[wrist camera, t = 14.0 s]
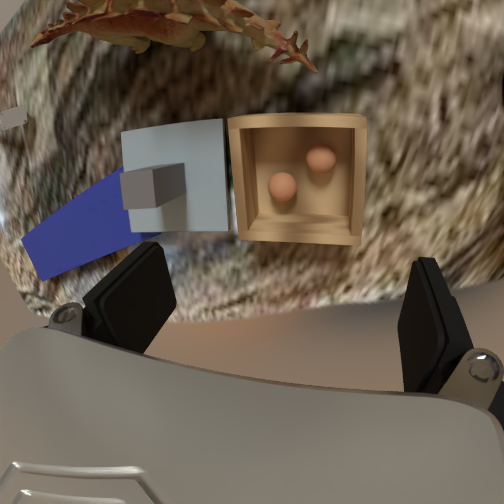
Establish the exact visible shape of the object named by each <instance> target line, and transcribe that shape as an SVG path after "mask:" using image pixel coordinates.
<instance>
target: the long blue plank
mask: <svg viewBox="0 0 504 504" xmlns="http://www.w3.org/2000/svg"><path fill="white" fill-rule="evenodd" d="M123 172H124V166H123V167H122V168H120V169H118V170H117V171H115V172H113V173H112V174H110V175H109V176H107V177H105V178H104V179H102V180H101V181H99V182H98V183H96V184H95V185H93V186H92V187H90V188H89V189H87V190H86V191H84V192H83V193H81V194H80V195H78V196H77V197H76V198H74V199H73V200H71V201H70V202H68V203H67V204H66V205H64V206H63V207H62V208H60V209H59V210H57V211H56V212H55V213H53V214H52V215H51V216H49V217H48V218H47V219H45V220H44V221H43V222H42V223H40V224H39V225H38V226H37V227H35V228H34V229H33V230H32V231H30V232H29V233H28V234H27V235H25V236H24V237H23V238H22V239H21V240H22V243H23V245H24V247H25V249H26V251H27V253H28V255H29V257H30V259H31V261H32V263H33V265H34V267H35V269H36V271H37V273H38V275H39V276H40V278H41V280H42V282H43V281H45V280H47V279H50V278H52V277H54V276H57V275H59V274H61V273H64V272H66V271H68V270H71V269H73V268H76V267H78V266H80V265H83V264H85V263H88V262H90V261H93V260H95V259H98V258H100V257H102V256H105V255H108V254H110V253H113V252H115V251H118V250H120V249H123V248H125V247H128V246H130V245H133V244H136V243H138V242H141V241H144V240H146V239H149V238H151V237H154V236H157V235H159V234H161V233H162V232H131V226H130V219H129V212H128V210H124V208H123V200H122V191H121V182H120V173H123Z"/></svg>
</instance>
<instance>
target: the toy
mask: <svg viewBox="0 0 504 504" xmlns="http://www.w3.org/2000/svg"><path fill="white" fill-rule="evenodd" d="M78 1H80V2H81V3H83V4H84V5H80V4H73V3H71V2H67V3H66V4H67V8H68V9H70V10H71V11H73V12H76V14H71V13H66V12H64V13H63V17H64V18H65V20H62V19H61V20H57V24H56V25H52V24H48V25H49V29H47V30H44V31H42V32H40V33H38V35H37V37H36V38H35V39H34V41H33V42H32V43H31V46H30V47H32V48H34V47H37V46H39V45H42V44H47V43H49V42H50V41H51V40H53V39H54V38H56V37H58V36H60V35H64V34H66V33H69V32H71V31H81V32H86V33H88V34H90V35H91V36H93V37H94V38H97V39H100V40H103V41H107V42H111V43H114V44H118V45H124V46H132V50H136V51H135V53H136V54H140V53H143V52H145V51H146V50H147V49H148V47H149V46H150V39H151V40H153V41H157V42H162V43H164V44H167V45H174V46H177V47H186V48H190V51H192V52H193V51H197V50H199V49H201V48H202V47H203V45H204V43H205V38H206V37H205V35H204V34H203V33H201V32H199V31H229V32H234V33H238V34H242V35H245V36H248V37H251V38H252V45H253V48H254V50H255V51H259V50H260V49H261V48H263V47H264V46H269V47H271V48H274V49H276V52H275V54H274V55H273V56H272V57H271V58H270V59H269V61H273V60H274V59H276V58H277V57H278V56H280V55H281V54H287V55H288V56H290V57H289V58H287V59H284V60H282V61H280V64H287V63H293V62H295V61H297V62H300V63H302V64H303V65H304V66H306V67H307V68H308V69H309V70H310V71H312V72H315V73H317V72H318V71H317V69H316V68H315V66H314V65H313V63H312V62H311V61H310V60H309V59H308V58H307V54H306V52H307V49H308V40H305V41H304V43H303V45H302V46H301V48H300V50H299V48H298V47H297V45H296V41H297V37H298V33H297V31H294V34H293V35H292V37H291V38H290V39H288V40H287V39H285V38H284V37H282V36H281V34H280V33H279V31H278V28H279V27H280V25H281V21H276V20H268V21H264V20H263V19H262V18H260V17H258V16H257V15H256V14H255V13H254V12H252V11H251V10H250V9H248V8H246V7H245V6H242V5H240V4H239V3H237V2H236V1H233V0H78ZM85 5H86V6H85Z"/></svg>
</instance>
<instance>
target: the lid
mask: <svg viewBox="0 0 504 504" xmlns="http://www.w3.org/2000/svg"><path fill="white" fill-rule="evenodd" d="M121 139H122V154H123V166H124V172H123V173H120V182H121V191H122V200H123V208H124V210H128V212H129V219H130V226H131V232H188V231H229V230H230V218H229V200H228V182H227V163H226V143H225V120H224V119H223V118H221V119H210V120H200V121H191V122H182V123H175V124H167V125H161V126H154V127H148V128H142V129H136V130H131V131H125V132H121Z"/></svg>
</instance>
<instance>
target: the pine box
mask: <svg viewBox="0 0 504 504" xmlns="http://www.w3.org/2000/svg"><path fill="white" fill-rule="evenodd" d="M227 120H228V131H229V142H230V153H231V164H232V174H233V185H234V195H235V205H236V215H237V226H238V235H239V240H255V241H276V242H297V243H317V244H336V245H354V246H361V235H362V224H363V212H364V197H365V177H366V138H367V123H366V117H365V116H362V115H360V114H345V113H267V114H248V115H241V116H237V117H232V118H228V119H227ZM316 144H326V145H328V146H330V147H331V148H332V149H333V150H334V152H335V154H336V157H337V161H336V165H335V167H334V168H333V170H331V171H330V172H328V173H325V174H318V173H315V172H314V171H312V170H311V169H310V168H309V166H308V165H307V161H306V155H307V152H308V150H309V149H310V148H311V147H312V146H314V145H316ZM280 172H284V173H288V174H290V175H291V176H293V178H294V179H295V181H296V183H297V191H296V193H295V195H294V196H293V197H292V198H291V199H290V200H288V201H277V200H275V199H274V198H272V197H271V195H270V194H269V192H268V182H269V180H270V178H271V177H272V176H273V175H274V174H276V173H280Z"/></svg>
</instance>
